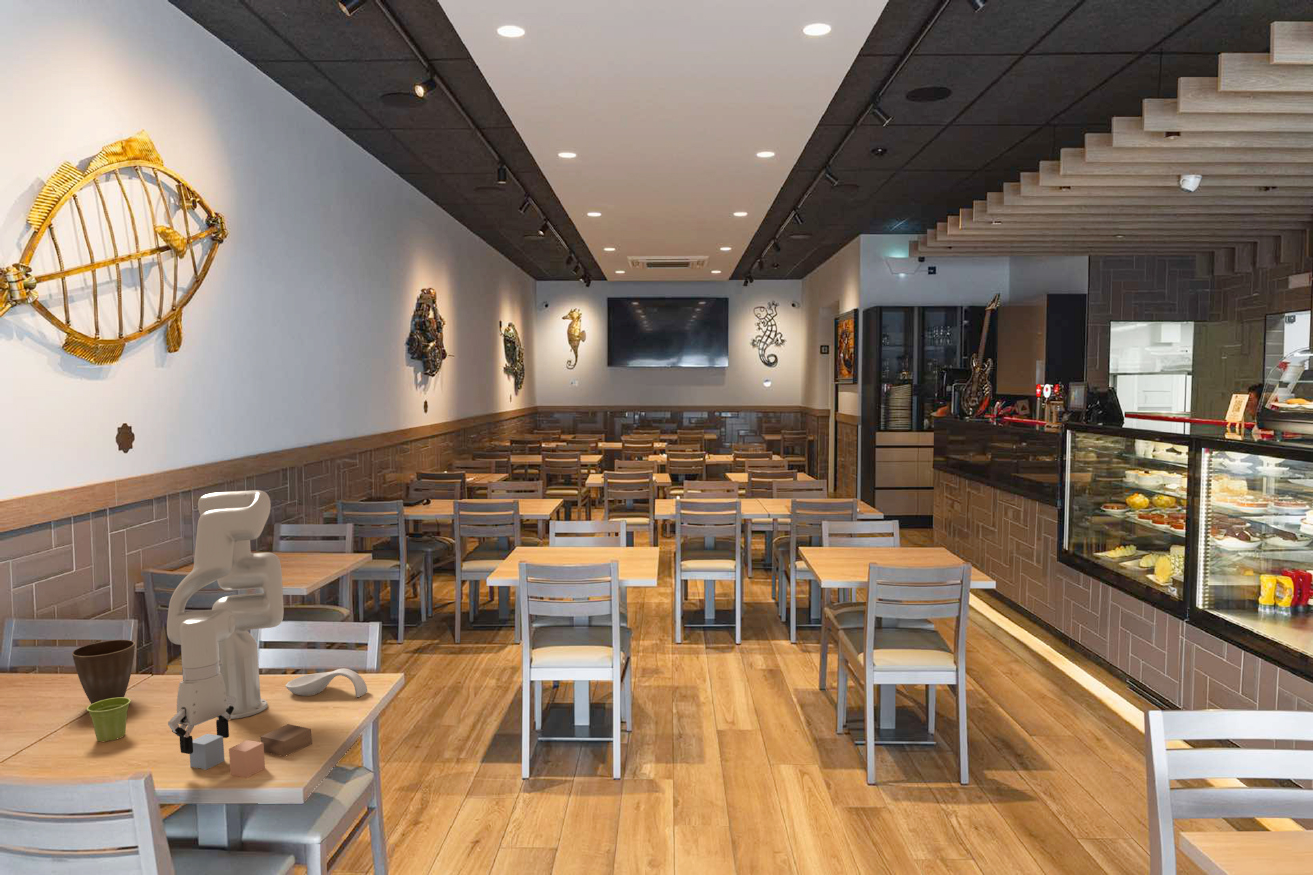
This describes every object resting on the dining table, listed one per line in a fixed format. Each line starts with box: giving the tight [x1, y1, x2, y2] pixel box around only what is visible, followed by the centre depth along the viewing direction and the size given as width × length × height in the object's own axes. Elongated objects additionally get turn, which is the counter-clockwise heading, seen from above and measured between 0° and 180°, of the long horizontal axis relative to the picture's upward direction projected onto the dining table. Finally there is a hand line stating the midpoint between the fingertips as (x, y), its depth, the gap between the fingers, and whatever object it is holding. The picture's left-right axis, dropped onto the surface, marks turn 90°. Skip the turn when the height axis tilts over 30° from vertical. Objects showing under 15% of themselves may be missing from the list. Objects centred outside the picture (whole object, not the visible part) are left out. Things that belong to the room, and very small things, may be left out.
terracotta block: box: [228, 739, 266, 779], centre depth 195 cm, size 5×5×6 cm
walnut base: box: [260, 723, 313, 757], centre depth 208 cm, size 8×8×4 cm
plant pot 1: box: [71, 639, 136, 705], centre depth 243 cm, size 15×15×16 cm
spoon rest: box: [285, 667, 368, 698], centre depth 245 cm, size 24×12×7 cm, turn 76°
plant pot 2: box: [86, 696, 132, 742], centre depth 218 cm, size 9×9×9 cm
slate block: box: [189, 733, 226, 771], centre depth 200 cm, size 5×5×6 cm
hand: (205, 744), depth 199 cm, fingers open, 9 cm apart
